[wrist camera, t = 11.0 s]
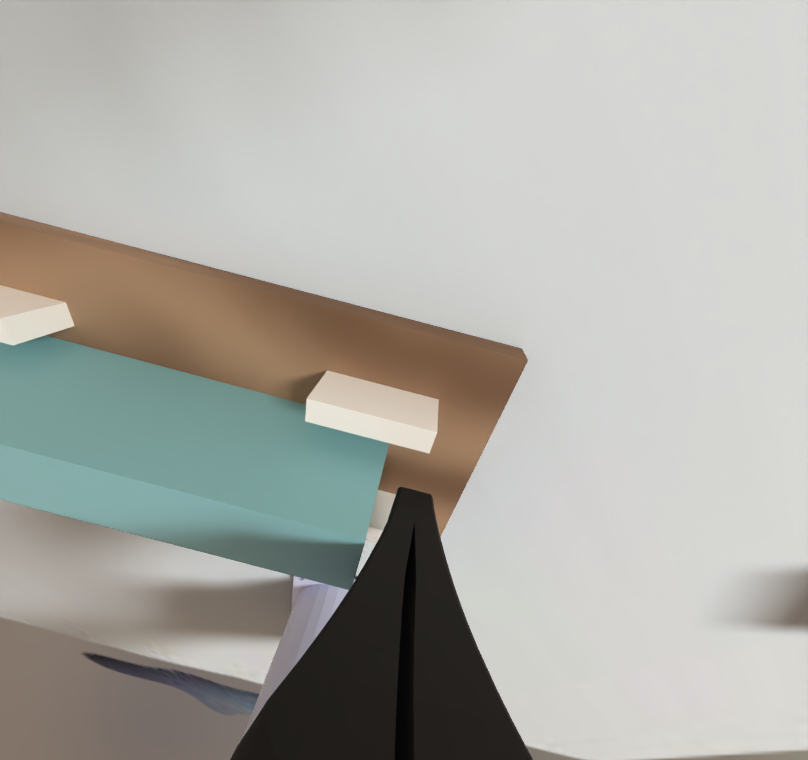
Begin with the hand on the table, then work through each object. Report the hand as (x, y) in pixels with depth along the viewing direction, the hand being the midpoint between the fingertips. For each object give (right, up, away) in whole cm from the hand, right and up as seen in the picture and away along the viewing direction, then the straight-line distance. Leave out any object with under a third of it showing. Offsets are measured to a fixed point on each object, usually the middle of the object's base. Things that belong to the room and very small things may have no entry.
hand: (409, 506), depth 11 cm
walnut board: (-9, +4, +3) cm, 10 cm away
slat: (-9, +4, +2) cm, 10 cm away
